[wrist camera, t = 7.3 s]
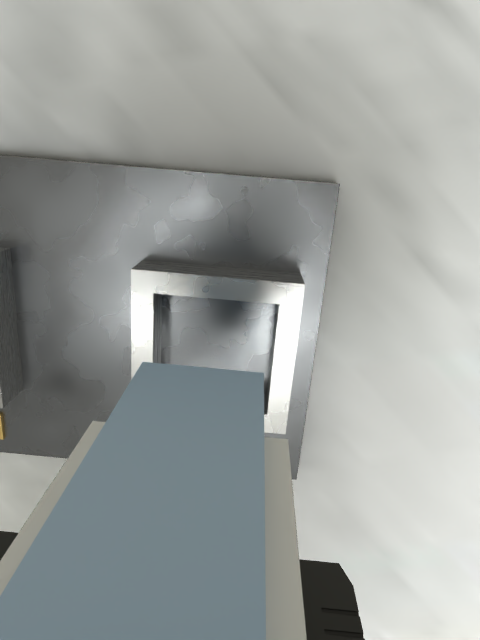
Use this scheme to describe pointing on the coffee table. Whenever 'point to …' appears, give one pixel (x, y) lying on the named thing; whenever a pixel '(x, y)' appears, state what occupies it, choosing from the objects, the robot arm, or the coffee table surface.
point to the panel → (152, 289)
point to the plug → (156, 520)
